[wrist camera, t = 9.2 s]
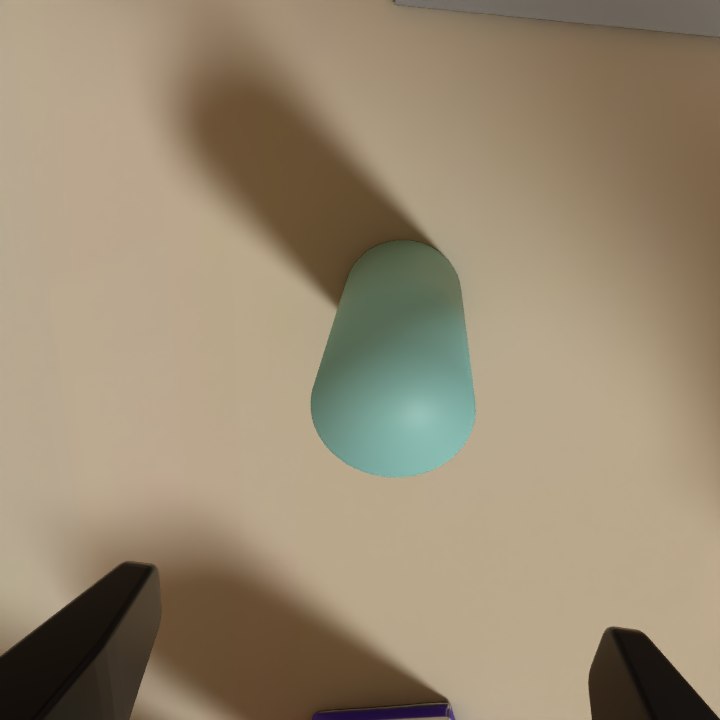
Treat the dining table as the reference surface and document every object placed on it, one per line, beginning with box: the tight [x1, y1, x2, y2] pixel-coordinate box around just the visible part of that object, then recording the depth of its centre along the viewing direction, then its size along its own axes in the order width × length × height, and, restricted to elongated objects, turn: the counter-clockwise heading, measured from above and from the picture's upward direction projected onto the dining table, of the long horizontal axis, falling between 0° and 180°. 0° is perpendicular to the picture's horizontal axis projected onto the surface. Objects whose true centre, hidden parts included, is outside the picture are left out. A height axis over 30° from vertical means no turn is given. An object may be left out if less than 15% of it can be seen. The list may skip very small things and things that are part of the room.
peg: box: [311, 240, 476, 477], centre depth 15 cm, size 3×3×6 cm
